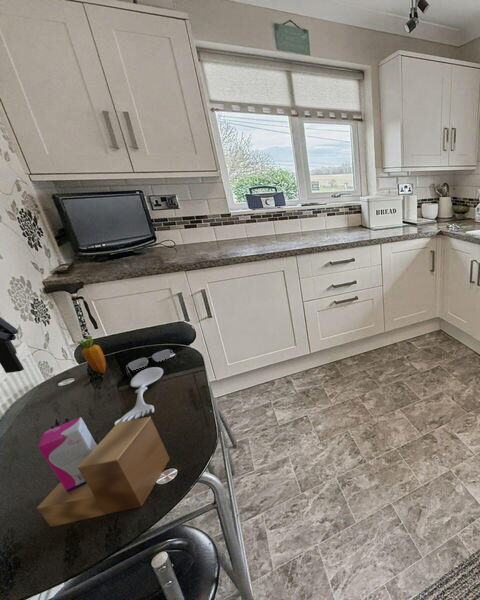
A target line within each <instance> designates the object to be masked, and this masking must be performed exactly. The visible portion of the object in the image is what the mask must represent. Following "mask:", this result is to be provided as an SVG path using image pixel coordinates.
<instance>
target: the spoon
mask: <svg viewBox="0 0 480 600" xmlns="http://www.w3.org/2000/svg"><path fill="white" fill-rule="evenodd" d="M163 374H164V369H163V368H162V367H158V366H153V367H147V368H145V369H143V370H141V371H139V372H138V373H136V374H135V375H134V376H132V378H131V381H130V386H131V387H132V388H136V390H135V391H134V392H135V394H137V395H136V396H137V397H136V401H135V405H134V407H132V409H131V410H129V411H128V412H126V413H125V414H124V415H123V416H122V417H121V418H118V419H117V420H116V421H114V426H115V425H116V424H117V423H119V422H124V421H129V420H134V419H140V418H144V417H146V415H147V416H148V415H150V413H152V414H153V413H155V407H154V405H152V404H147V403H146V402H145V400H144V396H143V395H144V393H145V392H146V391H147V390H148V386H150V385H152V384H153V383H155V382H157V381H158V380H159V379H160V378H161V377H162V376H163ZM137 388H138V389H137Z"/></svg>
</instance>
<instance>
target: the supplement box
mask: <svg viewBox="0 0 480 600" xmlns="http://www.w3.org/2000/svg"><path fill="white" fill-rule="evenodd" d="M97 445H98V444H97V442H96V441H95V439H94V437H93V435H92V434H91V432H90V431H89V429H88V427H87V425H86V423H85V421H84V420H83V417H81V416H80V417H78V418H75V419H73V420H70V421H67V422H65V423H62V424H59V425H58V426H55V427H53V428H50V429H47V430H45V431H43V433H42V434H41V439H40V441H39V443H38V446H37V448H38V450H39V452H40V453H41V455H42V456H43V457H44V459H45V460H46V463H48V465H49V466H50V468H51V469H52V472H54V474H55V476H56V477H57V479H58V481H59V483H60V482H61V484H62V485H63V487H64V488H65V490H66V491H67V492H69V491H71V490H73V489H75V488H77V487H79V486H82V485H84V484H86V483H87V482H86V481H85V479H84V477H83V476H82V474H81V472H80V471H79V469H78V468H77V467H78V466H79V465H80V464H81V463H82V462H83V461H84V459H85V458H86V457H87V456H88V455H89V454H90V453H91V452H92V451H93V450H94V448H95V447H96V446H97Z"/></svg>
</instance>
